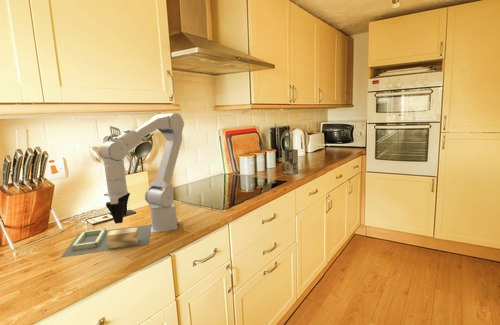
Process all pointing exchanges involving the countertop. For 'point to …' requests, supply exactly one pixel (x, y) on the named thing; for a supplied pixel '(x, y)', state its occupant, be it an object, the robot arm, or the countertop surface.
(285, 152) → the coffee box
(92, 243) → the sage frame
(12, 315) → the countertop surface
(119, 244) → the birch block
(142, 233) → the rubber mat
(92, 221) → the chocolate bar
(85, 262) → the countertop surface
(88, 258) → the countertop surface
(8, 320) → the countertop surface
